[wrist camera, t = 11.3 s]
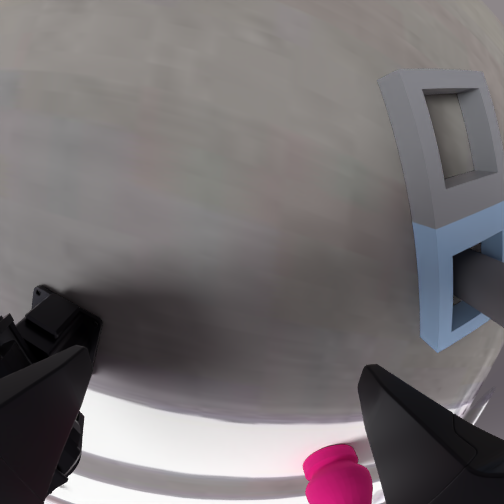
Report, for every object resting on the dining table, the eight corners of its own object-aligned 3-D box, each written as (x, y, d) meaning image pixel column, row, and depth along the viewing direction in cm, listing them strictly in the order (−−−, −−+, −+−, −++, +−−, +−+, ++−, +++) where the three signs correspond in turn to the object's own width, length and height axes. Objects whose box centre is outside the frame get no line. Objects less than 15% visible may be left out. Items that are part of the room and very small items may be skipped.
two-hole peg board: (487, 296, 23) (506, 307, 20) (420, 336, 23) (437, 353, 20) (461, 77, 17) (482, 71, 14) (376, 80, 17) (398, 69, 14)
